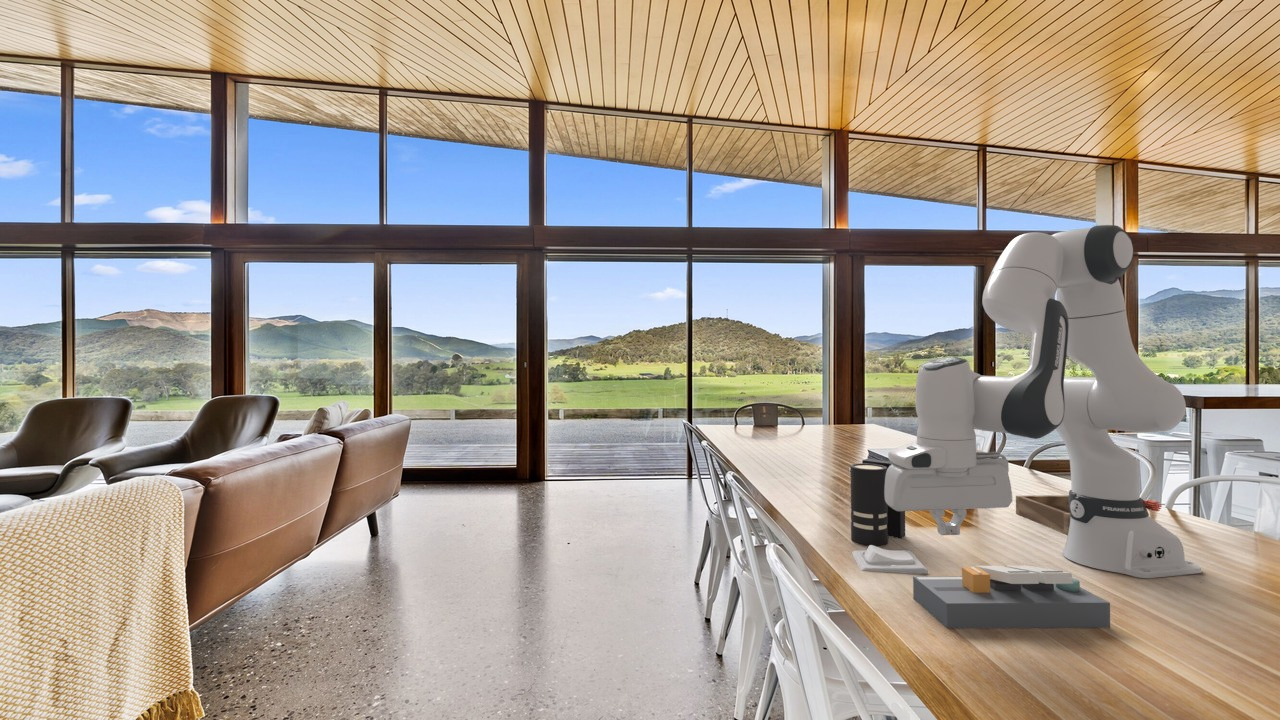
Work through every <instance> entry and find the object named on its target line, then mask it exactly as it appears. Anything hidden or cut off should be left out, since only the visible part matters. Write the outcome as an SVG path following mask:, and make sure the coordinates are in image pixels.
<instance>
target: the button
mask: <svg viewBox="0 0 1280 720" xmlns="http://www.w3.org/2000/svg"><path fill="white" fill-rule="evenodd" d="M1072 579H1073V584H1056V587H1057V588H1059V589H1061V590H1064V591H1069V592H1079V591H1080V586H1081V584H1080V581H1079V580H1078V579H1077V578H1073V577H1072Z"/></svg>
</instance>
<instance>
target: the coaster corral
mask: <svg viewBox="0 0 1280 720" xmlns="http://www.w3.org/2000/svg"><path fill="white" fill-rule="evenodd" d="M1015 514H1016V515H1018V516H1021V517H1023V518H1026V519H1028V520H1030V521H1033V522H1035V523H1038V524H1040V525H1043V526H1045V527H1047V528H1050V529H1052V530H1055V531H1057V532H1060V533H1062V534H1065V535H1067V536H1068V531H1069V525H1070V517H1071V515H1070V510H1069V494H1068V495H1067V494H1065V495H1063V494H1061V495H1060V494H1058V495H1054V494H1052V495H1047V494H1046V495H1015Z"/></svg>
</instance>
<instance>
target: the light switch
mask: <svg viewBox="0 0 1280 720" xmlns="http://www.w3.org/2000/svg"><path fill="white" fill-rule="evenodd" d="M851 555H852V556H853V558H854V560H855V561H856V564H857V565H858V568H859V569H860V571H863V572H877V573H878V572H879V573H898V574H921V575H922V574H925V575H926V574H929V571H928V569H927V568H926V566H924V564H923V563H922V562H921V561H920V560H919V558H917V556H916V555H915V554H914V553H913V552H912V551H911V550H904V549H903V550H902V549H899V550H897V549H895V550H894V549H893V550H890V549H886V548H881V547H876V546H873V545H870V546H867V549H866V550H853V551H852V552H851Z"/></svg>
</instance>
